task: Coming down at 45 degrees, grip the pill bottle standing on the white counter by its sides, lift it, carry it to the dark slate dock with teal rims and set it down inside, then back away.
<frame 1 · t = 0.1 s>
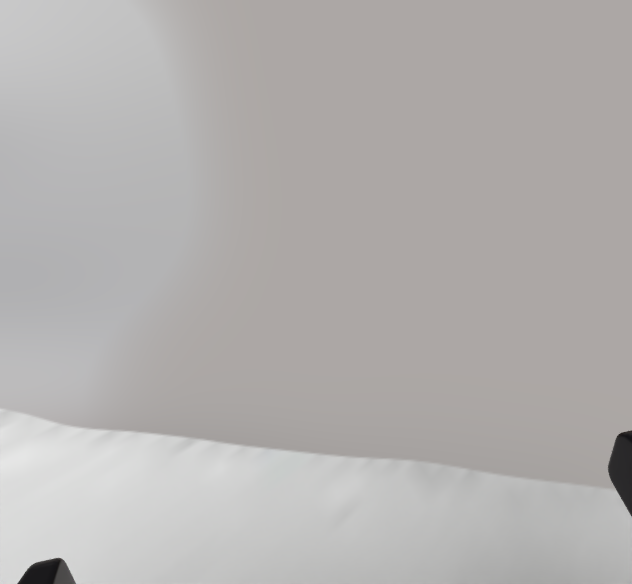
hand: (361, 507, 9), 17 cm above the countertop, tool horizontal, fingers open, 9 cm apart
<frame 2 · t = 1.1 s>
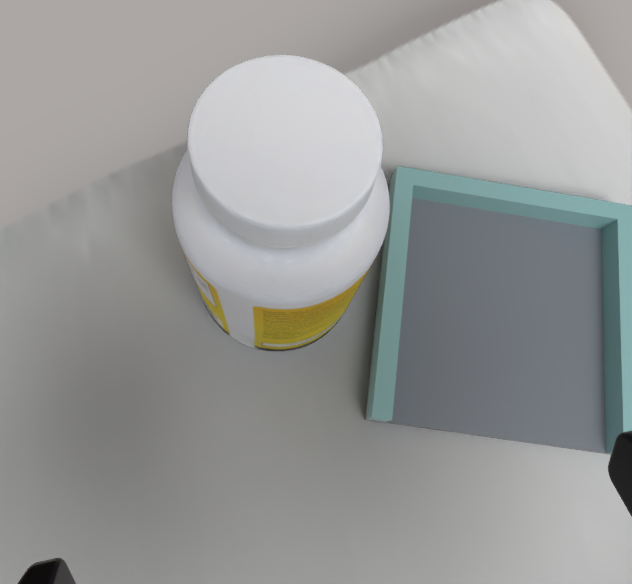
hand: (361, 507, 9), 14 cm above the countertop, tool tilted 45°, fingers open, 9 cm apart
pill bottle: (275, 282, 24), on the countertop
dock: (498, 311, 25), on the countertop
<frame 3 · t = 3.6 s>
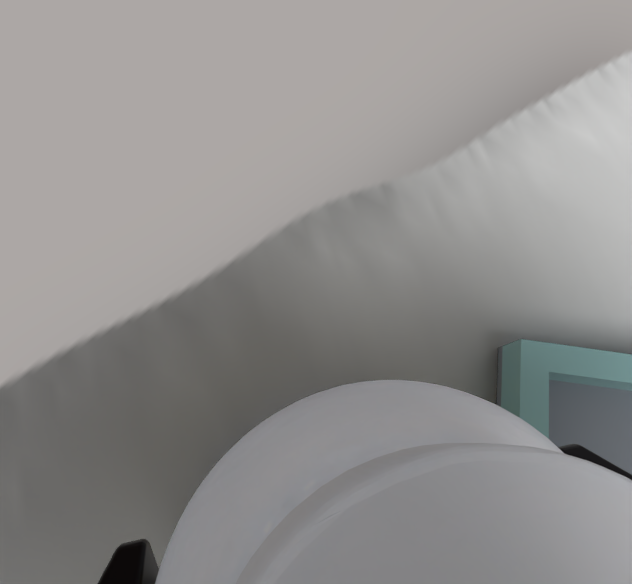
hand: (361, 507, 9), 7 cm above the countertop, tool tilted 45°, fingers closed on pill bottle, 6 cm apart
pill bottle: (327, 532, 15), on the countertop, touching gripper
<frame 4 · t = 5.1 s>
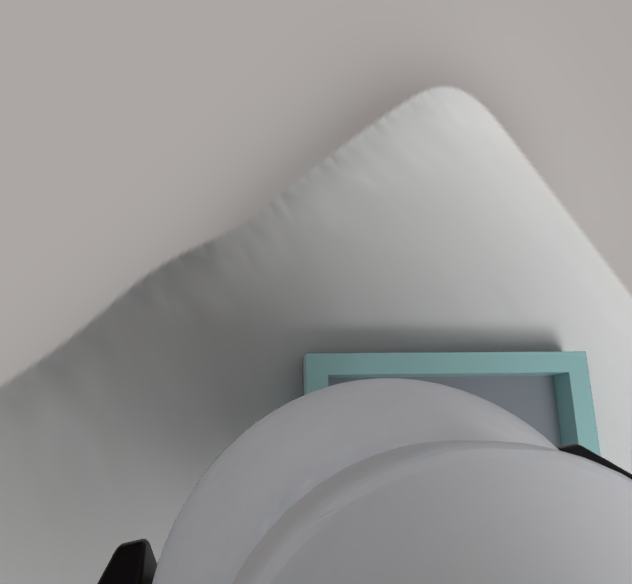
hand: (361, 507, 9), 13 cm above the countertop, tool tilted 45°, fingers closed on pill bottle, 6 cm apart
pill bottle: (324, 531, 15), point 6 cm above the countertop, touching gripper
dock: (448, 500, 21), on the countertop
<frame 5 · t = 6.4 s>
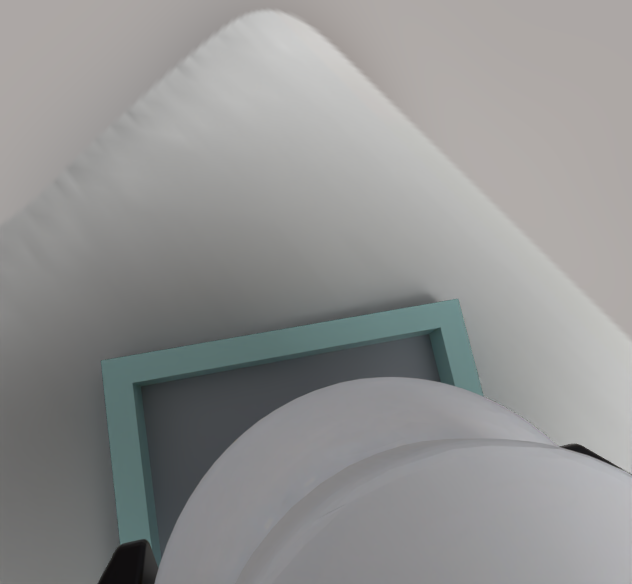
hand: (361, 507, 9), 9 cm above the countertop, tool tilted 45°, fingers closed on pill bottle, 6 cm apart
pill bottle: (325, 530, 15), point 2 cm above the countertop, touching gripper
dock: (317, 510, 17), on the countertop
when the fingers open (8 cm above the countertop, at t = 7.2 s): pill bottle stays where it is, resting on dock.
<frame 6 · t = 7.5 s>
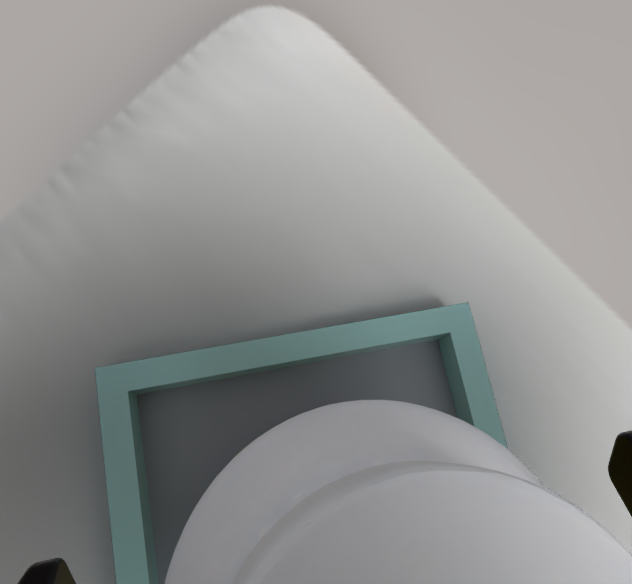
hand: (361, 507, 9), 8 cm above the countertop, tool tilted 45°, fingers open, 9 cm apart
pill bottle: (322, 534, 16), resting on dock
dock: (322, 525, 16), on the countertop
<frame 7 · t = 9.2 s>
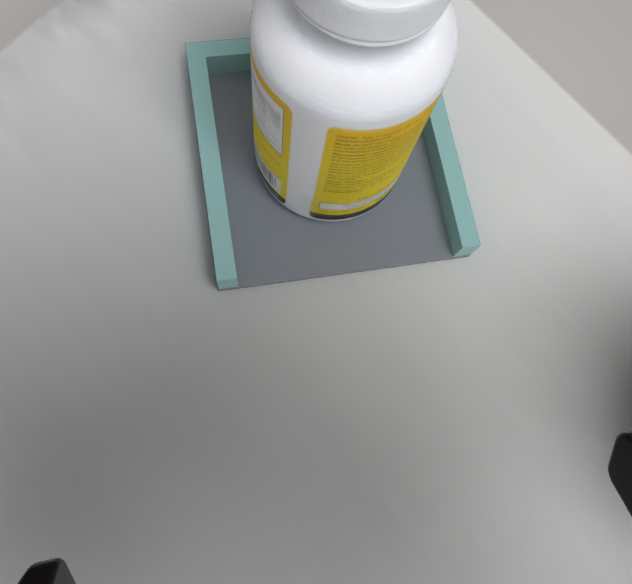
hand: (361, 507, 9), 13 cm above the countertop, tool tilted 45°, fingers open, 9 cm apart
pill bottle: (325, 161, 25), resting on dock
dock: (325, 158, 25), on the countertop
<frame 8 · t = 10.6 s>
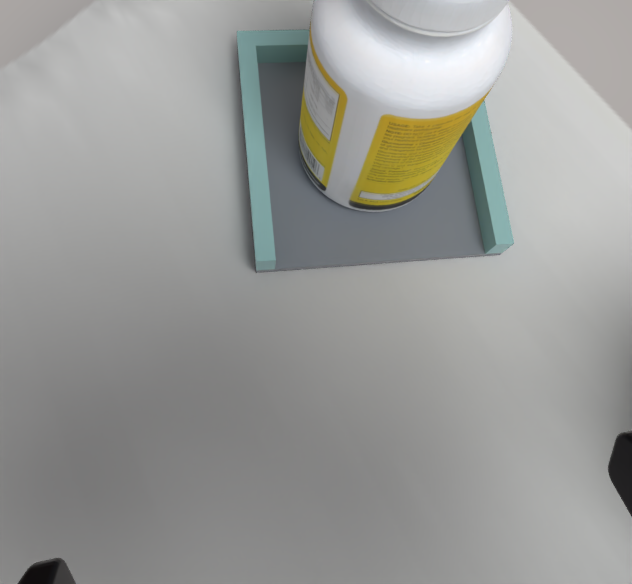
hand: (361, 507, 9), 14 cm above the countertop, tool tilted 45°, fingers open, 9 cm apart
pill bottle: (365, 154, 26), resting on dock
dock: (365, 151, 26), on the countertop
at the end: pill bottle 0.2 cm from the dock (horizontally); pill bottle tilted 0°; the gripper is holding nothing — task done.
